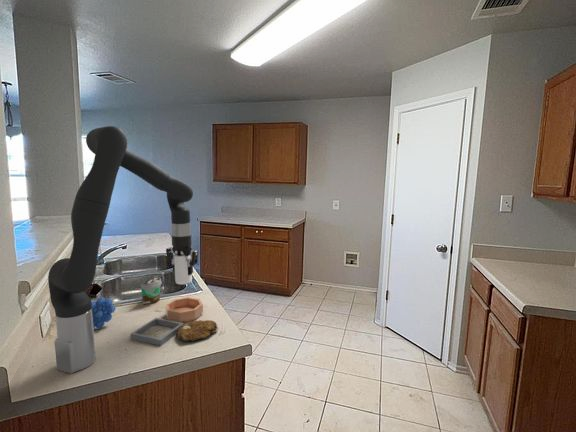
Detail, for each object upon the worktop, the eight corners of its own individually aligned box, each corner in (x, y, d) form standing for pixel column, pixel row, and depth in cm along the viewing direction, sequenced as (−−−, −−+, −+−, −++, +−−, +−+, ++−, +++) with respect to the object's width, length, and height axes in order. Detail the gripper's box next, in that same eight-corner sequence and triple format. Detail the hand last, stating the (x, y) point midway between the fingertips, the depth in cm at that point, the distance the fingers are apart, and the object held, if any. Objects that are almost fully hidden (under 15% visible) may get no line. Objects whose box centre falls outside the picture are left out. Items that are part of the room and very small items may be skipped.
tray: (161, 345, 109) (160, 340, 108) (130, 339, 112) (130, 333, 112) (184, 328, 121) (183, 323, 121) (155, 322, 125) (155, 317, 124)
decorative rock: (211, 323, 126) (173, 335, 117) (210, 313, 126) (172, 325, 117) (223, 334, 117) (182, 348, 108) (222, 324, 116) (181, 337, 108)
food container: (155, 307, 138) (154, 285, 137) (141, 306, 138) (140, 284, 137) (166, 295, 150) (165, 275, 149) (153, 295, 151) (153, 275, 149)
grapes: (113, 319, 126) (111, 291, 124) (118, 325, 121) (116, 296, 119) (78, 329, 118) (76, 298, 116) (82, 336, 113) (80, 304, 112)
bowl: (189, 325, 123) (188, 314, 122) (159, 319, 127) (158, 308, 126) (208, 310, 136) (208, 300, 136) (180, 305, 140) (180, 295, 140)
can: (186, 285, 125) (185, 256, 123) (172, 284, 126) (170, 255, 125) (194, 280, 131) (193, 252, 129) (180, 278, 133) (179, 251, 131)
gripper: (160, 234, 124) (162, 274, 127) (191, 237, 120) (192, 279, 123) (172, 230, 131) (173, 268, 134) (202, 233, 127) (203, 272, 130)
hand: (182, 273), depth 128 cm, fingers closed on can, 6 cm apart
